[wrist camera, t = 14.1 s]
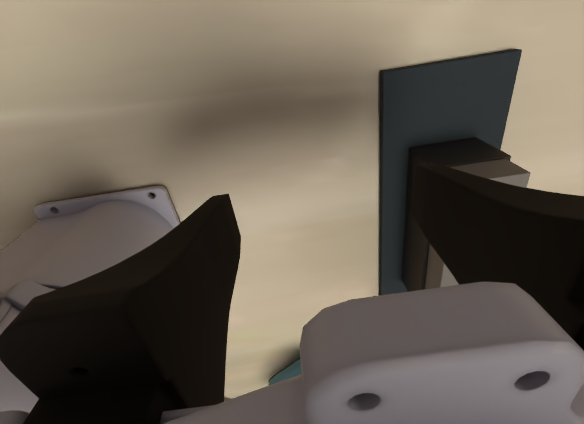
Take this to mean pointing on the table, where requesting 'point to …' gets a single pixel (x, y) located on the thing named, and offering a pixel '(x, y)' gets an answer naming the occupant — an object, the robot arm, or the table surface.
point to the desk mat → (434, 130)
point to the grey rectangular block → (465, 157)
